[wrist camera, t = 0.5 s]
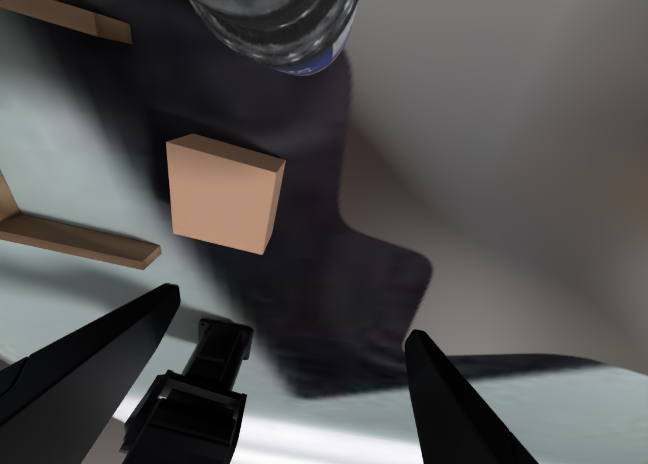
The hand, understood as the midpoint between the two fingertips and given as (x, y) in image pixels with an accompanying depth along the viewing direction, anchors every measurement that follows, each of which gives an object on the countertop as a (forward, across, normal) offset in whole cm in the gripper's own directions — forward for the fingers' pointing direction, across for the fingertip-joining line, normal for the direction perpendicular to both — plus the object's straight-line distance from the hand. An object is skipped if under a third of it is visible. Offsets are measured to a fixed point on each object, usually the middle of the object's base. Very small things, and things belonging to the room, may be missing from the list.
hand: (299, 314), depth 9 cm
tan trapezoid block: (+13, +7, +1) cm, 14 cm away
